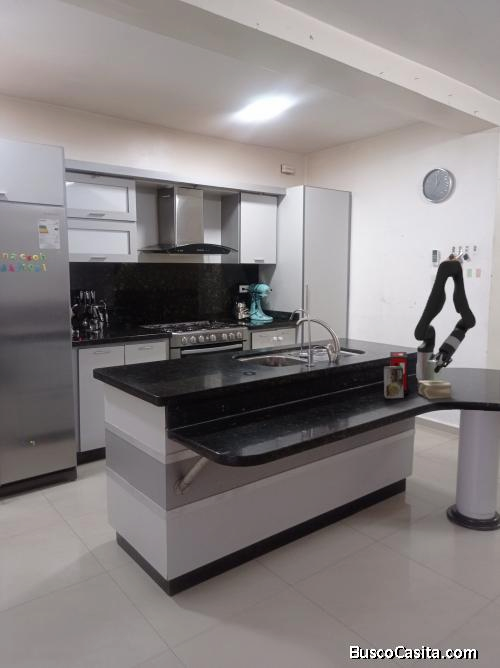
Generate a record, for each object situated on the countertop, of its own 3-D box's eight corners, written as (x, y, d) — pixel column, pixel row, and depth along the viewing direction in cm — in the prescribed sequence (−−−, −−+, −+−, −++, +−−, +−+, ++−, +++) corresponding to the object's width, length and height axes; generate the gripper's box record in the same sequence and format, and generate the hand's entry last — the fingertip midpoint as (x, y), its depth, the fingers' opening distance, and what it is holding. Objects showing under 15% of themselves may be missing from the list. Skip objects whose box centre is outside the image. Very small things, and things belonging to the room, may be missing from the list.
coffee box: (401, 395, 260) (401, 365, 258) (403, 398, 254) (403, 367, 252) (383, 395, 261) (383, 366, 259) (386, 398, 254) (385, 368, 252)
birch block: (417, 393, 262) (417, 380, 262) (439, 391, 264) (439, 379, 263) (428, 399, 250) (428, 386, 249) (451, 397, 251) (451, 384, 250)
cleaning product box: (407, 393, 263) (407, 357, 260) (390, 393, 265) (390, 357, 262) (406, 386, 278) (406, 352, 276) (390, 386, 281) (390, 352, 278)
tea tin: (427, 379, 257) (426, 360, 256) (434, 377, 259) (434, 359, 258) (433, 381, 252) (433, 362, 251) (441, 379, 254) (441, 361, 253)
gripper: (436, 340, 263) (418, 364, 260) (455, 343, 249) (437, 369, 247) (443, 349, 265) (426, 373, 262) (463, 352, 252) (445, 378, 249)
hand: (431, 371), depth 255 cm, fingers closed on tea tin, 5 cm apart
